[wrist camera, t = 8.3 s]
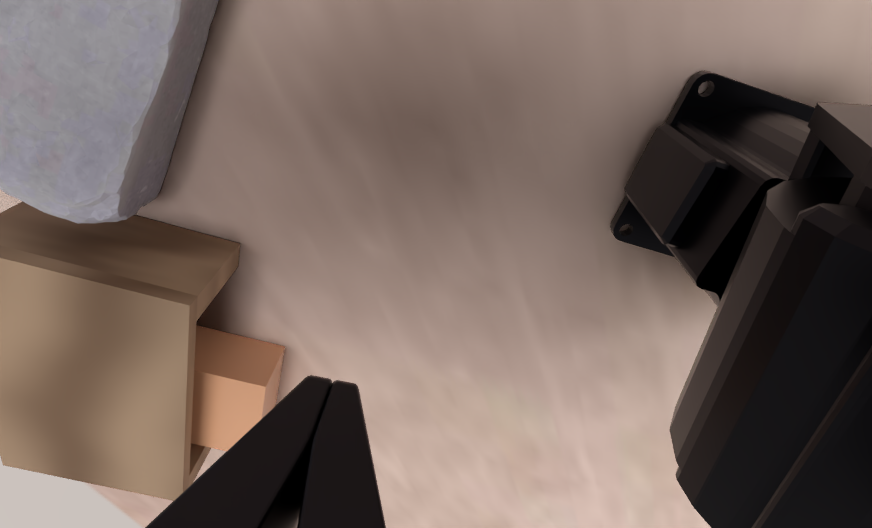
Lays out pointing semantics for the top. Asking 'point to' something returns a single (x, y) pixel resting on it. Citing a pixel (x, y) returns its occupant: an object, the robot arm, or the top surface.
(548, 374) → the top surface
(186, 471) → the shelf
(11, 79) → the stone block
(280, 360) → the peach cardboard box
